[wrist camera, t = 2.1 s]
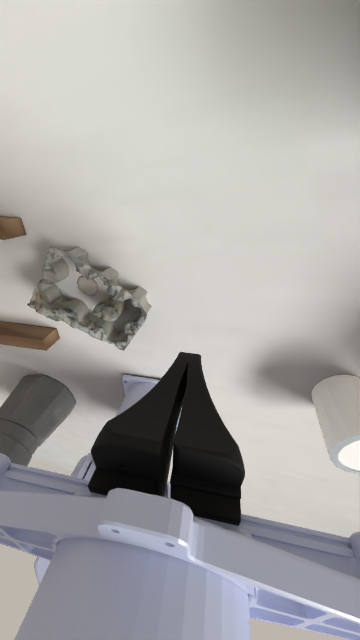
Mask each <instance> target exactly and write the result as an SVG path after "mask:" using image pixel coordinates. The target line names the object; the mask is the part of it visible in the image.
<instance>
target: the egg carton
mask: <svg viewBox="0 0 360 640" xmlns="http://www.w3.org/2000/svg"><path fill="white" fill-rule="evenodd" d="M62 256H67V257H69V258H70V259H71V260H72V261H73V262H75V265H76V268H77V272H79V273H80V274H82V275H83V276H81V277H80V278H79V279H78V282H77V283H78V287H79V289H80V290H81V291H82V292H83V293H84V294H86V295H95V294H96V293H97V292H98V285H97V283H96V282H95V281H94V278H95V277H97V276H99V277H100V279H101V280H103V281H104V279H107V281H106V282H105V281H104V284H105V285H106V286H108V288H107V291H108V294H109V295H108V296H106V297H105V298H104V299H103V300H102V301H101V302H100V303H99V304H98V305H97V306H96V307H95V309H94V311H93V313H92V315H91V314H89V313H88V307H87V305H86V304H85V303H84V302H83V301H81V300H79V299H73V300H71V301H68V300H66V299H64V298H63V297H62V296H61V291H60V289H59V288H58V287H57V286H56V285H55V283H57V282H58V281H60V280H62V279H64V278H66V277H67V276H68V275H69V267H68V265H67V263H66V262H65V261H64V260H63V259H62ZM87 256H88V252H86V251H85V250H84V249H82V248H80V247H77V248H75V249H73V250H71V251H62V250H59V249H57V248H54V247H52V246H51V247H50V250H49V252H48V254H47V256H46V258H47V260H46V263H45V265H44V267H43V269H42V271H43V272H44V274H43V278H42V279H41V280H40V282H39V283H38V284H37V286H36V288H35V290H34V292H33V296H32V298H31V301H30V303H28V304H27V305H28V306H30V307H31V308H34V309H36V312H38V313H40V314H43V315H45V316H46V317H47V318H50V319H52V320H55V321H60V320H62V321H65V322H66V323H67V324H69V325H70V326H71V327H73V328H78V329H80V330H82V331H84V332H86V333H88V334H89V335H90V336H91V337H93V338H96V339H99V340H102V341H106V342H108V343H110V344H115V346H116V347H117V348H118V349H120V350H123V351H124V349H125V348H126V347H127V346H128V344H129V343H130V341H131V339H132V338H133V337H134V335H135V334H136V333H137V331H138V330H139V328H140V327H141V326H142V325H143V323H144V321H145V319H146V316H147V313H148V311H149V310H150V309H151V305H150V304H149V303H148V301H147V299H146V294H147V291H146V290H145V289H143V288H142V287H140V286H139V287H138V288H136V289H134V290H127V289H125V288H124V287H123V286H121V285H120V283H119V281H118V272H117V271H116V270H114V269H113V268H111V267H109V268H107V269H106V270H105V271H98V270H96V269H94V268H93V267H92V266H91V265H90V263H89V261H88V257H87ZM126 299H131V304H132V306H133V307H139V308H140V310H141V311H137V312H135V313H134V314H133V315H132V317H131V318H130V320H129V321H128V322H127V323H126V324H125V326H124V330H125V331H124V332H122V333H121V332H118V331H117V330H115V329H114V323H113V321H115V320H117V319H118V317H119V316H120V315H121V314H122V312H124V310H125V308H126V303H125V300H126Z"/></svg>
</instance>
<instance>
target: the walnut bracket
mask: <svg viewBox="0 0 360 640" xmlns="http://www.w3.org/2000/svg"><path fill="white" fill-rule="evenodd" d="M23 235H26V232H25V229H24V226H23V223H22V220H21V218H17V217H0V239H1V240H6V239H10V238H14V237H19V236H23ZM58 339H59V335H58V331H57V328H49V327H41V326H33V325H26V324H18V323H10V322H3V321H0V344H4V345H11V346H18V347H25V348H32V349H38V350H45V351H46V350H47V349H49V348H50V347H51V346H52V345H53V344H54V343H55V342H56V341H57V340H58Z"/></svg>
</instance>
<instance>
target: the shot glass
mask: <svg viewBox="0 0 360 640" xmlns="http://www.w3.org/2000/svg"><path fill="white" fill-rule="evenodd" d="M312 400H313V403H314V407H315V410H316V414H317V417H318V420H319V424H320V427H321V430H322V434H323V437H324V441H325V444H326V447H327V451H328V454H329V457H330V460H331V461H332V462H333V463H334V465H335V466H336V467H338V468H340V469H342V470H344V471H347V472H350V473H355V474H360V378H358V377H356V376H351V375H336V376H331V377H328V378H326V379H323V380H322V381H320V382H319V383H317V384H316V385H315V387H314V388H313V390H312Z"/></svg>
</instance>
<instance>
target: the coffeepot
mask: <svg viewBox="0 0 360 640" xmlns="http://www.w3.org/2000/svg"><path fill="white" fill-rule="evenodd" d="M75 404H76V401H75V399H74V396H73V395H72V393H71V392H70V390H69V389H68V388H67V387H66V386H64V385H63V384H62V383H60V382H59V381H57V380H55V379H53V378H51V377H48V376H45V375H37V374H34V375H30V376H24V377H23V379H22V380H21V381H20V383H19V384H18V385H17V386H16V388H15V389H14V390H13V392H12V393H11V394H10V396H9V397H8V398H7V400H6V401H5V402H4V404H3V405H2V406H1V408H0V453H2V454H4V455H6V456H7V457H9V459H10V460H11V463H14V464H19V465H23V466H27V465H28V464H29V462H30V460H31V458H32V454H33V453H34V452H35V450H36V449H37V448H38V446H40V445H41V444H42V443H43V442H44V441H45V440H46V439H47V438H48V437H49V436H50V435H51V434H52V433H53V431H54V430H55V429H56V428H57V427H58V426H59V425H60V424H61V423H62V422H63V421H64V420H65V418H66V417H67V416H68V415H69V414H70V413H71V411H72V409H73V408H74V406H75Z"/></svg>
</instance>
